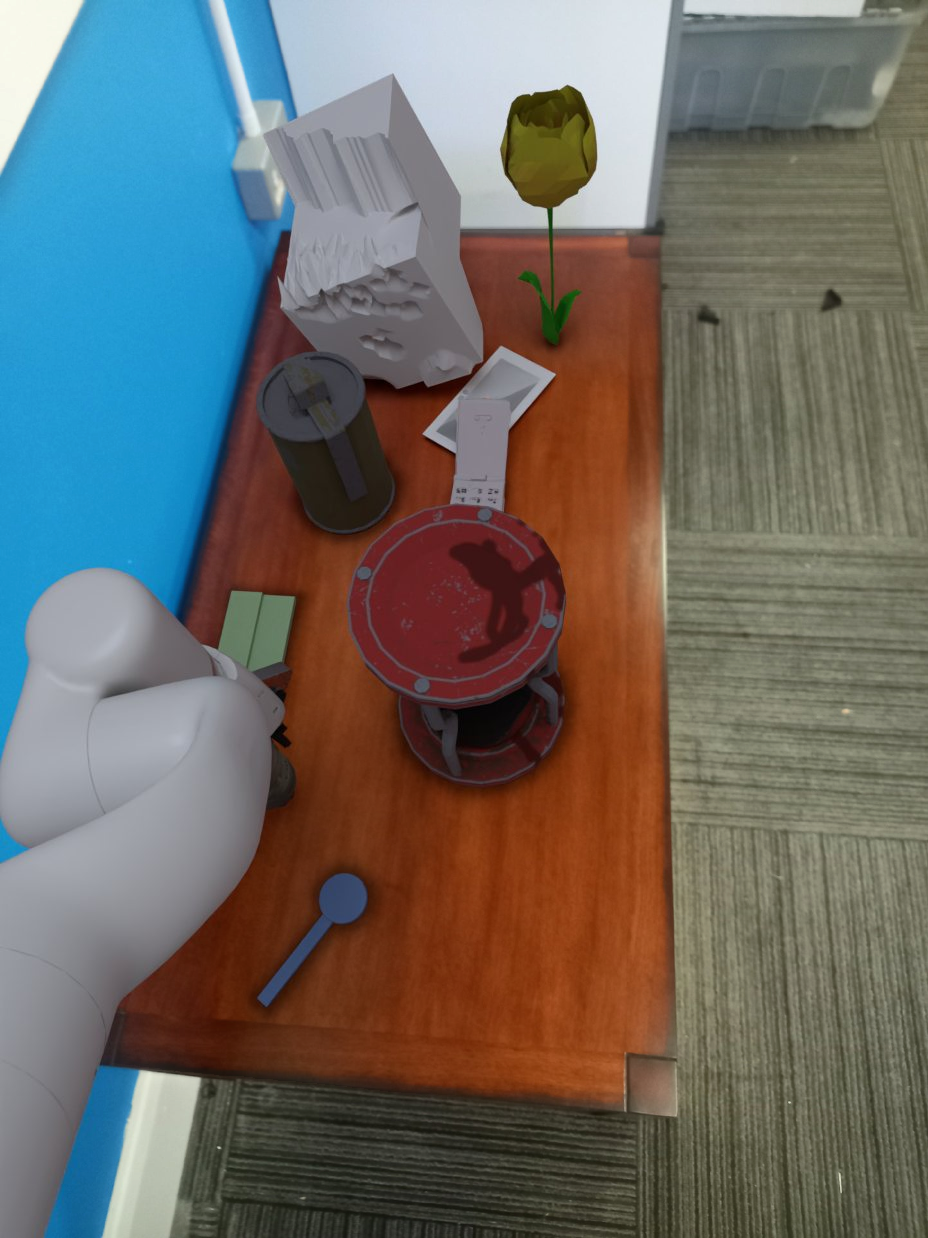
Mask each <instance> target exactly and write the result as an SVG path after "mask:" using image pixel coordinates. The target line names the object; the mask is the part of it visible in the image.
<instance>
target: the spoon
mask: <svg viewBox="0 0 928 1238" xmlns="http://www.w3.org/2000/svg"><path fill="white" fill-rule="evenodd" d="M368 902H369V893H368V889H367V886H366V885H365V883H364V881H363V880H362V879H361V878H359V877H358V876H356V875H354V874H352V873H348V872H342V873H337V874H334V875H333V876H331V877H329V878H328V879H327V880H326V881H325V882H324V884H323V885H322V887H321V889H320V891H319V895H318V906H319V909H320V911H321V913H322V915H321V916H320V917H319V918H318V919H317V921H316V922H315V923H314V925H312V927H311V928H310V930H309V931H308V933H307V934H306V935H305V936H304V937H303V939H302V940H301V941H300V943H298V945H297V947H296V948H295V949H294V950H293V951H292V952H291V953H290V955H289V956H288V958H287V959H286V960H285V961H284V962H283V964H282V965H281V967H280V968H279V969H278V970H277V972H276V973H275V974H274V975H273V977H272V978H271V979H270V981H269V982H268V983H267V984H266V985H265V987H264V988H263V989H262V991H261V992H260V994H259V995H258V996H257V998H256V1000H258V1001H259V1002H261V1004H262V1005H264V1006H265V1008H269V1007H270V1006H271V1004H272V1003H273V1001H275V999H276V998H277V997H278V995H279V994H280V993H281V991H282V990H283V989H284V988H285V986H286V985H287V984H288V982H289V981H290V980H291V978H292V977H293V976H294V975H295V973H296V972H297V971H298V970H299V968H300V967H301V966H302V965H303V964H304V962H305V961H306V960H307V958H308V957H309V955H311V953H312V951H313V950H314V949H315V948H316V946H317V945H318V944H319V943H320V941H321V940H322V939H323V938H324V936H325V935H326V934H327V932H328V931H329V930H330V928H331V927H332V926H333V925H334V924H336V925H337V924H338V925H348V924H351V923H354V922H356V921H357V920H358V919H360V918H361V916H362V915H363V914H364V913H365V912H366V909H367V906H368V904H369V903H368Z"/></svg>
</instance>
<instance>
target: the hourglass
mask: <svg viewBox="0 0 928 1238" xmlns="http://www.w3.org/2000/svg"><path fill="white" fill-rule="evenodd" d="M566 604H567V592H566V587H565V582H564V579H563V572H562V569H561V565H560V562H559V560H558V559H557V558H556V555H555V554H554V553H553V551H552V550H551V548H550V547H549V545H548V544H547V542H546V541H545V539H544V537H543V536H541V534H539V533H538V532H537V531H536V530H534V529H533V528H532V527H531V526H530V525H529V524H527V523H526V522H524V521H523V520H522V519H520V518H519V517H517V516H514V515H512V514H510V513H507V512H505V511H504V512H502V511H500V510H497V509H495V508H492V507H490V506H481V505H470V504H459V503H455V504H450V503H449V504H445V505H439V506H434V507H428V508H423V509H420V510H419V511H417V512H415V513H413V514H411V515H409V516H406V517H405V518H403V519H400V520H398V521H395V522H394V523H393V524H392V525H391V526H389V528H387V529H385V530H384V532H383V533H382V534H380V535H379V536H378V537H377V538H376V539H375V540H374V541H372V542H371V543H370V544H369V546H368V548H367V549H366V551H365V552H364V553H363V556H361V559H360V561H359V562H358V564H357V566H356V567H355V568H354V570H353V573H352V577H351V581H350V584H349V589H348V593H347V598H346V610H347V611H346V612H347V620H348V629H349V634H350V637H351V638H352V641H353V642H354V644H355V647H356V649H357V651H358V653H359V655H360V657H361V659H362V661H363V663H364V665H365V667H366V668H367V669H368V670H369V671H370V672H371V673H372V674H373V675H374V676H375V677H376V678H377V679H378V680H379V681H380V682H381V683H382V684H383V685H384V686H385V687H386V688H387V689H388V690H389V691H390V692H393V693H395V694H397V695H399V697H398V698H399V699H398V703H397V705H398V713H399V714H398V715H399V721H400V729H401V730H402V733H403V735H404V737H405V739H406V741H407V743H408V745H409V747H410V749H411V752H412V753H413V755H414V756H415V757H416V758H417V759H418V760H419V761H420V762H421V763H422V764H423V765H424V766H425V767H426V768H427V769H428V770H429V771H430V772H431V773H432V774H435V775H436V776H439V777H441V778H443V779H445V780H447V781H449V782H450V783H453V784H455V785H460V786H467V787H475V788H482V789H483V788H488V787H494V786H499V785H505V784H509V783H511V782H514V781H515V780H517V779H519V778H521V777H523V776H525V775H527V774H528V773H530V772H532V771H533V770H534V769H535V768H536V767H538V765H539V764H540V763H541V762H542V761H543V760H544V759H545V758H546V757H547V756H548V755H549V754H550V753H551V752H552V750H553V747H554V746H555V743H556V742H557V739H558V738H559V735H560V733H561V731H562V728H563V720H564V713H565V712H564V711H565V705H566V698H565V694H564V689H563V684H562V680H561V676H560V673H559V671H558V670H557V669H558V668H559V660H558V659H559V657H558V656H559V653H558V651H559V650H558V649H559V648H558V642H559V641H560V638H561V636H562V634H563V627H564V620H565V613H566V606H567V605H566Z"/></svg>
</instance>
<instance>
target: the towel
mask: <svg viewBox="0 0 928 1238" xmlns="http://www.w3.org/2000/svg"><path fill="white" fill-rule="evenodd" d="M297 600H298V599H297V598H296V596H293V595H273V594H264V593H263V592H262V591H247V590H246V591H245V590H231V592H230V596H229V600H228V604H227V609H226V613H225V617H224V621H223V625H222V630H221V635H220V639H219V643H218V648H217V650H219V651H221V652H223V653H225V654H226V655H228V656H230V657H231V658H233V659H234V660H236V661H238V662H239V663H241V664H242V665H244V666H245V667H246V668H247V669H249V670H250V671H251V672H252V671H255V670H258V669H261V668H263V667H266V666H269V665H272V664H275V663H278V662H282V663H284V664H285V661H286V656H287V651H288V646H289V642H290V641H289V640H290V635H291V631H292V626H293V620H294V615H295V611H296V605H297Z"/></svg>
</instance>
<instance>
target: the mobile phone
mask: <svg viewBox="0 0 928 1238" xmlns="http://www.w3.org/2000/svg"><path fill="white" fill-rule="evenodd" d="M509 413H510V416H509ZM456 421H457V434H456V453H455V466H456V472H455V474H454V475H453V485H452V491H451V496H450V502H449V504H455V503H459V504H470V505H481V506H490V507H492V508H495V509H497V510H500V511H502V512H505V503H506V499H505V492H506V470H507V457H508V444H509V431H510V429H509V422H510V421H511V410H510V401H508V400H498V399H463V400H459V401H458V408H457V409H456Z"/></svg>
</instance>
